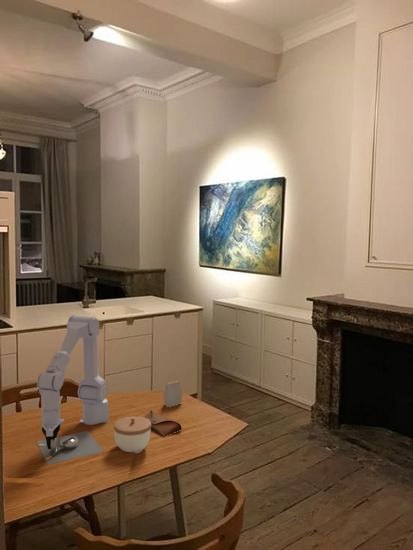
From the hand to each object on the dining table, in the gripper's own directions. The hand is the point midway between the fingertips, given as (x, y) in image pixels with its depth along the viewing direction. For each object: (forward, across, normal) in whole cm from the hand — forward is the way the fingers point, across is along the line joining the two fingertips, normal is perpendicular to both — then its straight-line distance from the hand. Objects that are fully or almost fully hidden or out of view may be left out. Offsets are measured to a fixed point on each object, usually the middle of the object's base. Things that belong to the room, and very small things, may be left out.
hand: (51, 447), depth 148 cm
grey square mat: (+3, +4, -5) cm, 7 cm away
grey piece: (+2, +2, -4) cm, 4 cm away
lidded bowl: (+3, -1, -26) cm, 27 cm away
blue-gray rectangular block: (+4, +36, -48) cm, 60 cm away
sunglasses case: (+4, +15, -38) cm, 41 cm away
